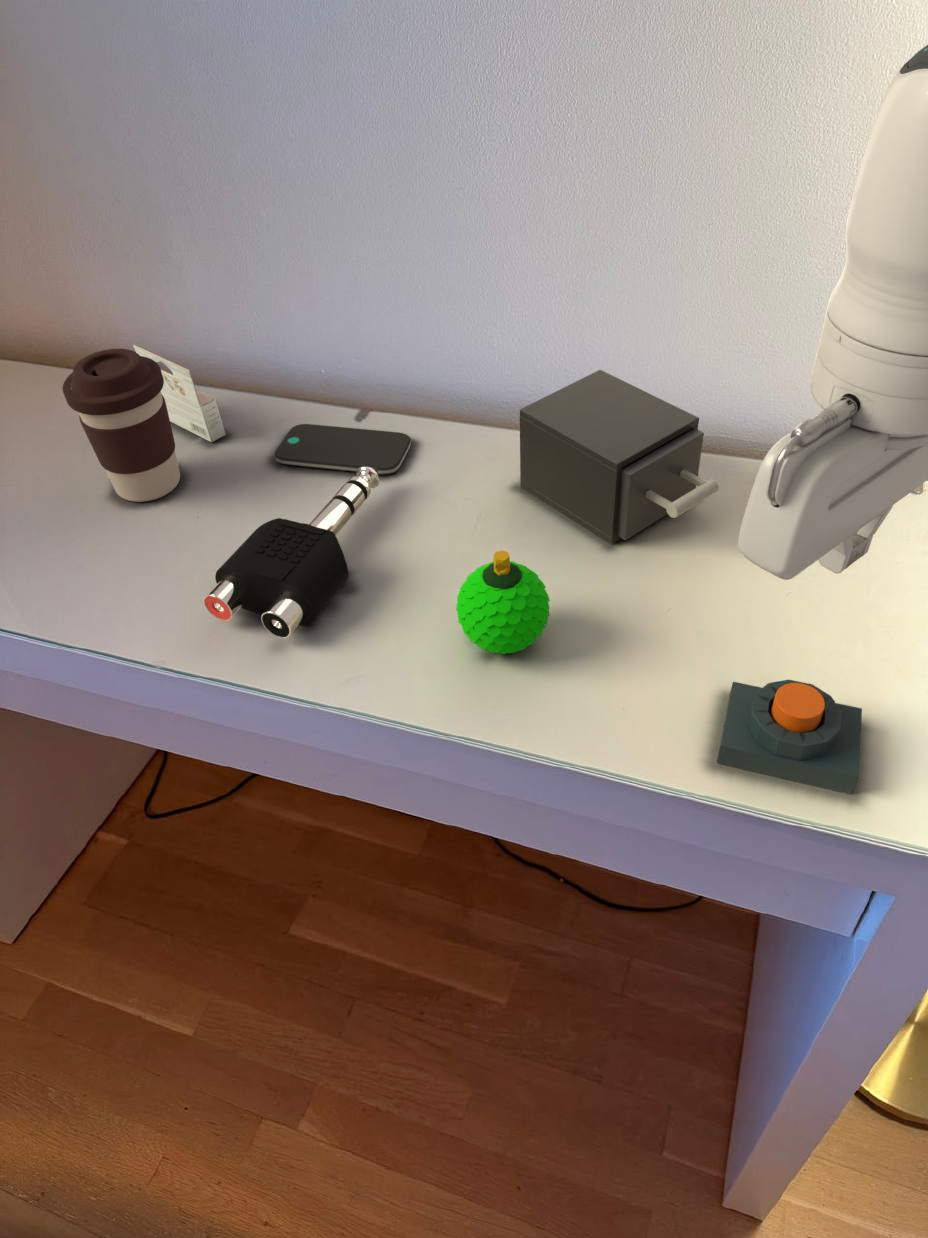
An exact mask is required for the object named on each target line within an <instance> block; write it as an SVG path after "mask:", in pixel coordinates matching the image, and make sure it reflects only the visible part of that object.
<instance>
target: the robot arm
mask: <svg viewBox="0 0 928 1238" xmlns="http://www.w3.org/2000/svg"><path fill="white" fill-rule="evenodd" d="M845 245H846V254H845V262H844V266H843V268H842V269H843V270H842V273H841V275H840V277H839V279H838V281H837V283H836V284H835V286H834V287H833V290H832V292H831V293H830V296H829V299H828V301H827V306H826V310H825V314H824V318H823V319H824V320H823V323H822V328H821V332H820V336H819V341H818V344H817V350H816V354H815V357H814V363H813V367H812V372H811V374H810V375H811V377H810V381H809V389H810V393H811V396H812V397H813V399H814V401H815V402H816V403H817V404H818V405H819V406H820V407H821V409H822V410H821V411H820V412H819V413H818V414H817V415H814V416H813V417H811V418H807V419H805V420H803V421H802V422H800V423H799V424H798V425H796V426H795V427H794V428H793V430H792V431H791V432H789V433H788V434H786V435H784V436H783V437H781V438H780V439H779V440H778V441H776V443H774V444H773V446H772V447H771V448H770V449H769V450H768V452H767V453H766V454H765V456H764V458H763V459H762V462H761V464H760V466H759V469H758V471H757V473H756V476H755V479H754V482H753V484H752V488H751V490H750V494H749V496H748V500H747V503H746V507H745V510H744V514H743V517H742V521H741V525H740V528H739V529H740V530H739V533H738V538H737V548H738V551H739V553H740V554H741V555H742V557H744V559H746V560H748V561H749V562H751V563H752V564H753V565H755V566H757V567H759V568H760V569H762V570H763V571H765V572H768V573H769V574H771V575H773V576H775V577H776V578H778V579H781V580H785V581H789V580H791V579H793V578H795V577H796V576H798V575H800V573H802V572H804V571H805V570H807V569H808V568H809V567H810V566H812V565H813V564H814V563H815V562H817V561H818V563H819V565H820V566H821V567H823V568H825V569H827V570H829V571H830V572H832V573H834V574H837V575H838V574H842V572H843V571H844V570H846V569H848V568H849V567H850V566H852V565H853V564H854V563H855V562H857V561H858V560H859V559H860V558H862V557H864V556H865V555H867V553H869V550H870V547H871V544H872V540H873V538H874V535H876V533H877V531H878V530H879V529H880V527H881V525H883V522H884V521H885V519H886V518H887V516H888V515H889V513H890V512H891V511H892V509H893V506H894V505H896V504H897V503H898V502H899V501H901V500H902V499H904V498H906V497H907V496H908V495H910V494H911V493H912V492H913V491H915V490H916V489H917V488H919V487H920V486H922V485H924V484H925V482H927V481H928V44H927V45H925V46H924V47H922V48H921V49H919V50H918V51H917V52H916V53H915V54H914V55H913V56H912V57H911V58H910V59H909V60H907V61H906V62H905V63H904V64H903V65H902V67H901V68H900V69H899V70H898V72H897V73H896V74H895V75H894V77H893V79H892V80H891V82H890V84H889V85H888V87H887V90H886V92H885V93H884V96H883V98H882V100H881V103H880V105H879V107H878V110H877V113H876V115H875V119H874V122H873V124H872V127H871V130H870V134H869V137H868V140H867V142H866V146H865V150H864V153H863V156H862V159H861V163H860V166H859V170H858V173H857V178H856V181H855V185H854V189H853V193H852V197H851V201H850V206H849V210H848V214H847V219H846V224H845Z"/></svg>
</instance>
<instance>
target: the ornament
mask: <svg viewBox="0 0 928 1238" xmlns="http://www.w3.org/2000/svg"><path fill="white" fill-rule="evenodd" d="M509 554H510V553H509V552H508V551H505V550H504V549H502V550H497V551H495V552H494V553H493V561H491V562H488V563H486V564H483V565H481V566H479V567H477V568H476V569H475V570H473V571H472V572H471V573H469V574H468V576H467V577H466V580H465V581H464V582H463V583H462V584H461V586H460V588H459V589H460V590H459V591H458V594H457V597H456V598H457V600H456V601H457V602H456V606H455V609H456V612H457V621H458V624H460V625H461V627H462V628H461V629H462V632H463V634H464V635H465V636H466V637H467V638H468V639H469V640H470V642H472V643H473V644H475V646H477V648H478V647H479V649H481V650H483V649H485V651H487V652H488V653H491V654H495V653H497V654H501V655H506V654H513V653H514V654H515V653H516V652H519V651H524V650H525V649H526V648H527V647H530V646H531V645H532V644H534V642H535V641H536V639H537V638H540V637H541V636H542V634H543V632H544V629H545V628H546V626H547V625H548V621H549V617H550V608H551V607H550V603H549V602H550V601H551V600H550V596H549V594H548V592H547V590H546V589H547V586H546V585H545V583H544V582H543V581H542V580H541V579H540V578H539V575H538V574H537V573H536V572H535V571H533V570H531V569H530V568H529V567H528V566H526V565H523V564H522V563H518V562H515V561H513V560H511V557H510V555H509ZM469 640H468V641H469Z"/></svg>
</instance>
